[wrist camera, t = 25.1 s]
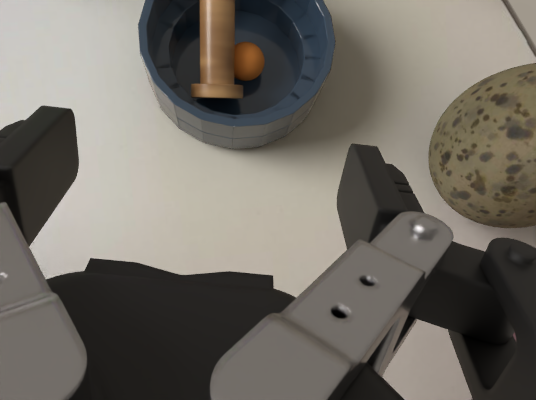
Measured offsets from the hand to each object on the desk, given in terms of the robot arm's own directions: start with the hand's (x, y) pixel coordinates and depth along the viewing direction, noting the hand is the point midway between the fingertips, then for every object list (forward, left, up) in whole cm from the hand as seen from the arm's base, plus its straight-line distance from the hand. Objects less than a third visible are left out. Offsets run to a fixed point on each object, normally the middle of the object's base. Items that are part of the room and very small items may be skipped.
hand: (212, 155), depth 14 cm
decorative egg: (+21, -3, -23) cm, 31 cm away
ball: (+8, +12, -20) cm, 25 cm away
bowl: (+7, +13, -23) cm, 27 cm away
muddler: (+4, +10, -20) cm, 23 cm away
